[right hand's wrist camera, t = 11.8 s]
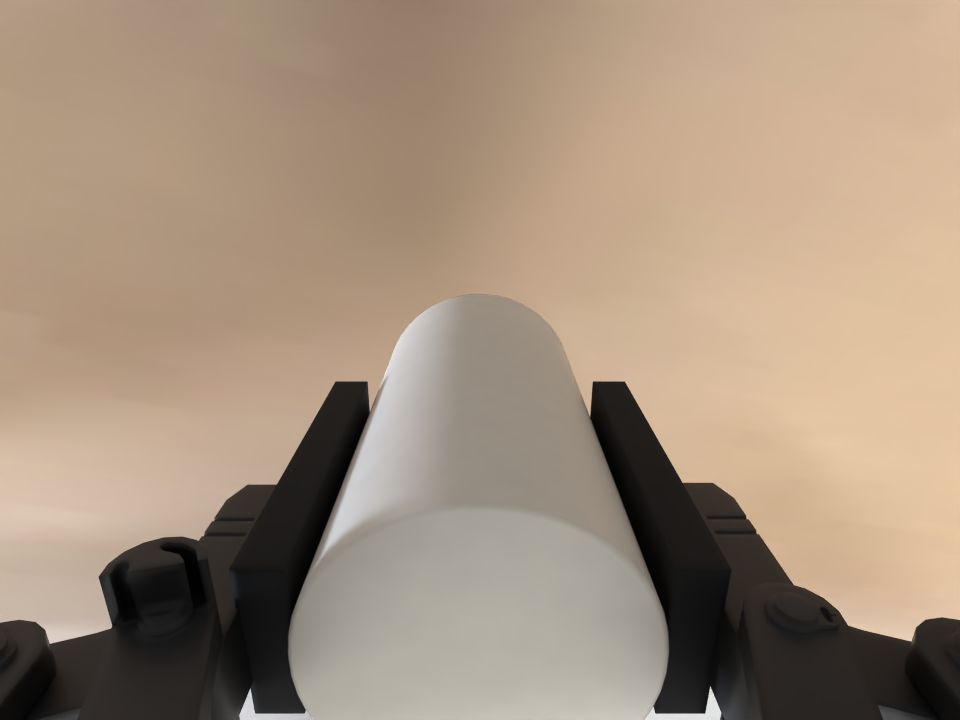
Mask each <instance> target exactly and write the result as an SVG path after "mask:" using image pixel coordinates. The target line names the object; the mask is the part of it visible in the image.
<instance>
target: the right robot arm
mask: <svg viewBox="0 0 960 720" xmlns="http://www.w3.org/2000/svg"><path fill="white" fill-rule="evenodd" d="M369 414H370V410H369V396H368V382H335V384H334V385H333V387H332V389H331V391H330V392H329V394H328V396H327V398H326V400H325V401H324V403H323V405H322V407H321V408H320V410H319V412H318V414H317V415H316V417H315V419H314V421H313V422H312V424H311V426H310V428H309V429H308V431H307V433H306V435H305V436H304V438H303V440H302V442H301V443H300V445H299V447H298V449H297V450H296V452H295V454H294V456H293V457H292V459H291V461H290V463H289V464H288V466H287V468H286V470H285V471H284V473H283V475H282V477H281V478H280V480H279V482H278V484H277V485H247V486H245V487H244V488H243V489H241V490H240V491H238V492H237V493H236V494H234V495H233V496H232V497H230V498H229V499H227V500H226V502H225V503H224V505H223V506H222V508H221V509H220V511H219V512H218V514H217V515H216V516H215V520H214V521H212V522H211V524H210V525H209V527H208V528H207V530H206V531H205V535H204V536H202V537H201V539H200V540H199V541H197V540H194V539H190V538H186V537H165V538H160V539H156V540H153V541H149V542H145V543H142V544H140V545H138V546H136V547H134V548H131V549H129V550H127V551H125V552H123V553H122V554H121V555H119V556H118V557H117V558H115V559H114V560H113V561H111V562H110V563H109V564H108V565H107V566H106V568H105V569H104V570H103V572H102V573H101V574H100V576H99V580H100V583H101V587H102V590H103V594H104V598H105V601H106V605H107V608H108V612H109V615H110V619H111V622H112V628H111V629H108V630H105V631H102V632H99V633H95V634H91V635H86V636H82V637H78V638H74V639H69V640H65V641H61V642H56V643H52V644H50V643H49V640H48V637H47V634H46V631H45V629H43V628H42V627H41V626H40V625H38V624H37V623H36V622H31V621H24V620H15V621H9V622H2V623H0V720H240V718H239V714H240V712H241V709H242V707H243V705H244V702H245V700H246V697H247V695H248V692H249V690H250V688H251V693H252V698H253V704H254V709H255V713H305V711H306V709H305V707H304V705H303V703H302V702H301V700H300V698H299V696H298V694H297V691H296V688H295V685H294V682H293V679H292V676H291V670H290V664H289V658H288V633H289V627H290V622H291V616H292V613H293V611H294V608H295V605H296V603H297V600H298V597H299V595H300V592H301V589H302V587H303V584H304V582H305V579H306V576H307V574H308V571H309V569H310V566H311V564H312V561H313V558H314V556H315V553H316V551H317V548H318V545H319V543H320V540H321V538H322V535H323V533H324V530H325V527H326V525H327V522H328V520H329V517H330V514H331V512H332V509H333V507H334V504H335V502H336V499H337V496H338V494H339V491H340V489H341V486H342V483H343V481H344V478H345V476H346V473H347V471H348V468H349V465H350V463H351V460H352V458H353V455H354V452H355V450H356V447H357V445H358V442H359V440H360V437H361V434H362V432H363V429H364V427H365V424H366V421H367V419H368V416H369ZM590 419H591V421H592V424H593V427H594V429H595V432H596V435H597V437H598V440H599V442H600V445H601V448H602V450H603V453H604V456H605V458H606V461H607V463H608V466H609V469H610V471H611V474H612V477H613V479H614V482H615V484H616V487H617V490H618V492H619V495H620V498H621V500H622V503H623V505H624V508H625V511H626V513H627V516H628V519H629V521H630V524H631V526H632V529H633V532H634V534H635V537H636V540H637V542H638V545H639V547H640V550H641V553H642V555H643V558H644V561H645V563H646V566H647V568H648V571H649V574H650V576H651V579H652V581H653V584H654V587H655V589H656V592H657V595H658V597H659V600H660V602H661V605H662V608H663V610H664V613H665V618H666V623H667V627H668V632H669V656H668V664H667V671H666V675H665V679H664V682H663V685H662V688H661V692H660V694H659V696H658V698H657V700H656V702H655V704H654V710H655V713H705V711H706V706H707V700H708V695H709V690H710V686H711V689H712V691H713V693H714V696H715V698H716V701H717V703H718V705H719V708H720V710H721V718H720V720H960V620H955V619H949V618H935V619H928V620H925V621H924V622H922V623H921V624H920V625H919V626H917V627H916V630H915V633H914V636H913V639H912V642H910V641H906V640H902V639H897V638H893V637H889V636H885V635H880V634H876V633H872V632H867V631H863V630H860V629H857V628H854V627H850V626H848V625H847V623H846V622H845V620H844V618H843V617H842V615H841V614H840V612H839V611H838V610H837V609H836V608H835V607H833V606H832V605H831V604H830V603H829V602H828V601H826V600H825V599H824V598H822V597H820V596H818V595H816V594H815V593H813V592H811V591H809V590H807V589H805V588H801V587H798V586H795V585H793V583H792V582H791V580H790V579H789V578H788V576H787V575H786V573H785V572H784V570H783V569H782V567H781V566H780V564H779V563H778V562H777V560H776V559H775V557H774V556H773V554H772V553H771V551H770V550H769V548H768V547H767V545H766V544H765V543H764V541H763V540H762V538H761V537H760V535H759V534H756V529H755V528H754V527H753V525H752V524H751V522H750V521H749V519H746V515H745V513H744V512H743V511H742V509H741V508H740V506H739V505H738V503H737V502H736V500H735V499H734V498H733V497H732V496H730V495H729V494H728V493H726V492H725V491H723V490H722V489H721V488H719V487H718V486H716V485H715V484H714V483H682V481H681V480H680V478H679V476H678V474H677V473H676V471H675V469H674V467H673V465H672V464H671V462H670V460H669V458H668V457H667V455H666V453H665V451H664V450H663V448H662V446H661V444H660V443H659V441H658V439H657V437H656V436H655V434H654V432H653V430H652V429H651V427H650V425H649V423H648V422H647V420H646V418H645V416H644V415H643V413H642V411H641V409H640V408H639V406H638V404H637V402H636V401H635V399H634V397H633V395H632V394H631V392H630V390H629V388H628V387H627V385H626V383H625V382H593V388H592V401H591V415H590Z"/></svg>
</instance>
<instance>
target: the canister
mask: <svg viewBox="0 0 960 720" xmlns="http://www.w3.org/2000/svg"><path fill="white" fill-rule="evenodd" d="M668 656H669V632H668V627H667V623H666V618H665V613H664V610H663V608H662V605H661V602H660V600H659V597H658V595H657V592H656V589H655V587H654V584H653V581H652V579H651V576H650V574H649V571H648V568H647V566H646V563H645V561H644V558H643V555H642V553H641V550H640V547H639V545H638V542H637V540H636V537H635V534H634V532H633V529H632V526H631V524H630V521H629V519H628V516H627V513H626V511H625V508H624V505H623V503H622V500H621V498H620V495H619V492H618V490H617V487H616V484H615V482H614V479H613V477H612V474H611V471H610V469H609V466H608V463H607V461H606V458H605V456H604V453H603V450H602V448H601V445H600V442H599V440H598V437H597V435H596V432H595V429H594V427H593V424H592V421H591V419H590V416H589V414H588V411H587V408H586V406H585V403H584V400H583V398H582V395H581V393H580V390H579V387H578V385H577V382H576V379H575V377H574V374H573V372H572V369H571V366H570V364H569V361H568V358H567V356H566V353H565V351H564V348H563V346H562V343H561V341H560V340H559V338H558V336H557V335H556V333H555V332H554V330H553V329H552V328H551V327H550V325H549V324H548V323H547V322H546V321H545V320H544V319H543V318H542V317H541V316H540V315H538V314H537V313H536V312H534V311H533V310H532V309H530V308H528V307H526V306H525V305H523V304H521V303H519V302H516V301H514V300H511V299H508V298H504V297H500V296H496V295H488V294H470V295H463V296H458V297H454V298H450V299H447V300H445V301H442V302H440V303H437V304H435V305H434V306H432V307H430V308H429V309H427V310H425V311H424V312H423V313H421V314H420V315H419V316H418V317H416V318H415V319H414V320H413V321H412V323H411V324H410V325H409V326H408V327H407V328H406V330H405V331H404V332H403V334H402V335H401V337H400V339H399V341H398V342H397V344H396V347H395V349H394V352H393V354H392V357H391V359H390V362H389V365H388V367H387V370H386V372H385V375H384V378H383V380H382V383H381V385H380V388H379V390H378V393H377V396H376V398H375V401H374V403H373V406H372V409H371V411H370V414H369V416H368V419H367V421H366V424H365V427H364V429H363V432H362V434H361V437H360V440H359V442H358V445H357V447H356V450H355V452H354V455H353V458H352V460H351V463H350V465H349V468H348V471H347V473H346V476H345V478H344V481H343V483H342V486H341V489H340V491H339V494H338V496H337V499H336V502H335V504H334V507H333V509H332V512H331V514H330V517H329V520H328V522H327V525H326V527H325V530H324V533H323V535H322V538H321V540H320V543H319V545H318V548H317V551H316V553H315V556H314V558H313V561H312V564H311V566H310V569H309V571H308V574H307V576H306V579H305V582H304V584H303V587H302V589H301V592H300V595H299V597H298V600H297V603H296V605H295V608H294V611H293V613H292V616H291V622H290V627H289V633H288V658H289V664H290V670H291V676H292V679H293V682H294V685H295V688H296V691H297V694H298V696H299V698H300V700H301V702H302V703H303V705H304V707H305V709H306V711H307V712H308V714H309V715H310V717H311V718H312V719H313V720H644V719H645V718H646V717H647V715H648V714H649V712H650V711H651V709H652V708H653V706H654V704H655V702H656V700H657V698H658V696H659V694H660V692H661V688H662V685H663V682H664V679H665V675H666V671H667V664H668Z"/></svg>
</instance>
